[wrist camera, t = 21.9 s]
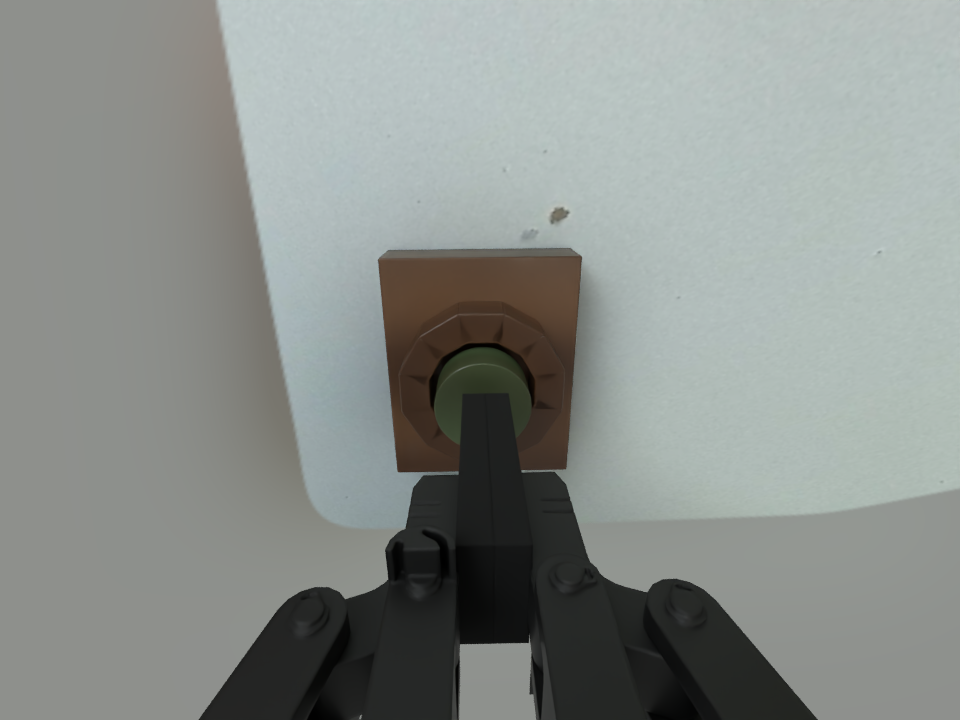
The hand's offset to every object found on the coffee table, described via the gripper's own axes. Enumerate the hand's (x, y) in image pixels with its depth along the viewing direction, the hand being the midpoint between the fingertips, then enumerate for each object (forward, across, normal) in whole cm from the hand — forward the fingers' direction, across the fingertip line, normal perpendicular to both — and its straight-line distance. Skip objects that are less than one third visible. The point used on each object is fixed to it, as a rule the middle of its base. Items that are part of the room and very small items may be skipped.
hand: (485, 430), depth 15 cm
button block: (+7, 0, 0) cm, 7 cm away
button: (+3, 0, 0) cm, 3 cm away
